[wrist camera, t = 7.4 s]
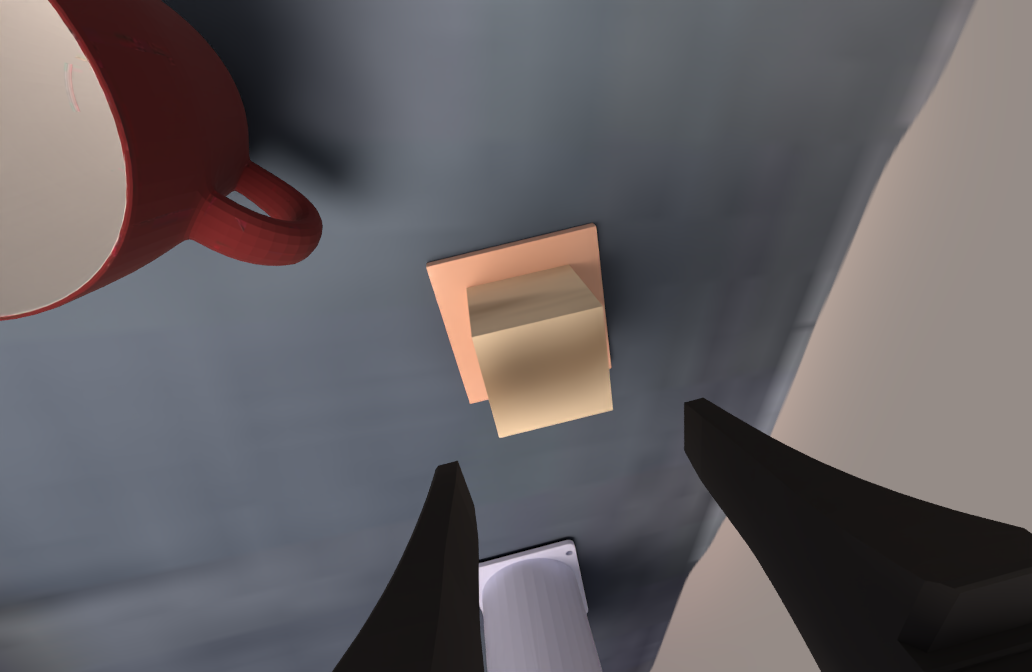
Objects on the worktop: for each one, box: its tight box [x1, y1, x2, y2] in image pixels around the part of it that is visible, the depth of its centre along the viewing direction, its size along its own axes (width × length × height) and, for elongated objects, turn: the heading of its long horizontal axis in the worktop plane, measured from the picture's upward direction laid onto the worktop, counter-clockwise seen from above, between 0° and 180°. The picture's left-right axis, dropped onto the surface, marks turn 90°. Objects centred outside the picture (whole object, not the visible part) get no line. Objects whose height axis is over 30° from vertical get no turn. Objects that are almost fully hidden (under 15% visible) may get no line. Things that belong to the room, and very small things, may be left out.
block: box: [466, 264, 613, 438], centre depth 19 cm, size 5×5×5 cm
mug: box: [0, 0, 323, 321], centre depth 12 cm, size 10×8×10 cm
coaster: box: [426, 223, 611, 404], centre depth 21 cm, size 8×8×1 cm
